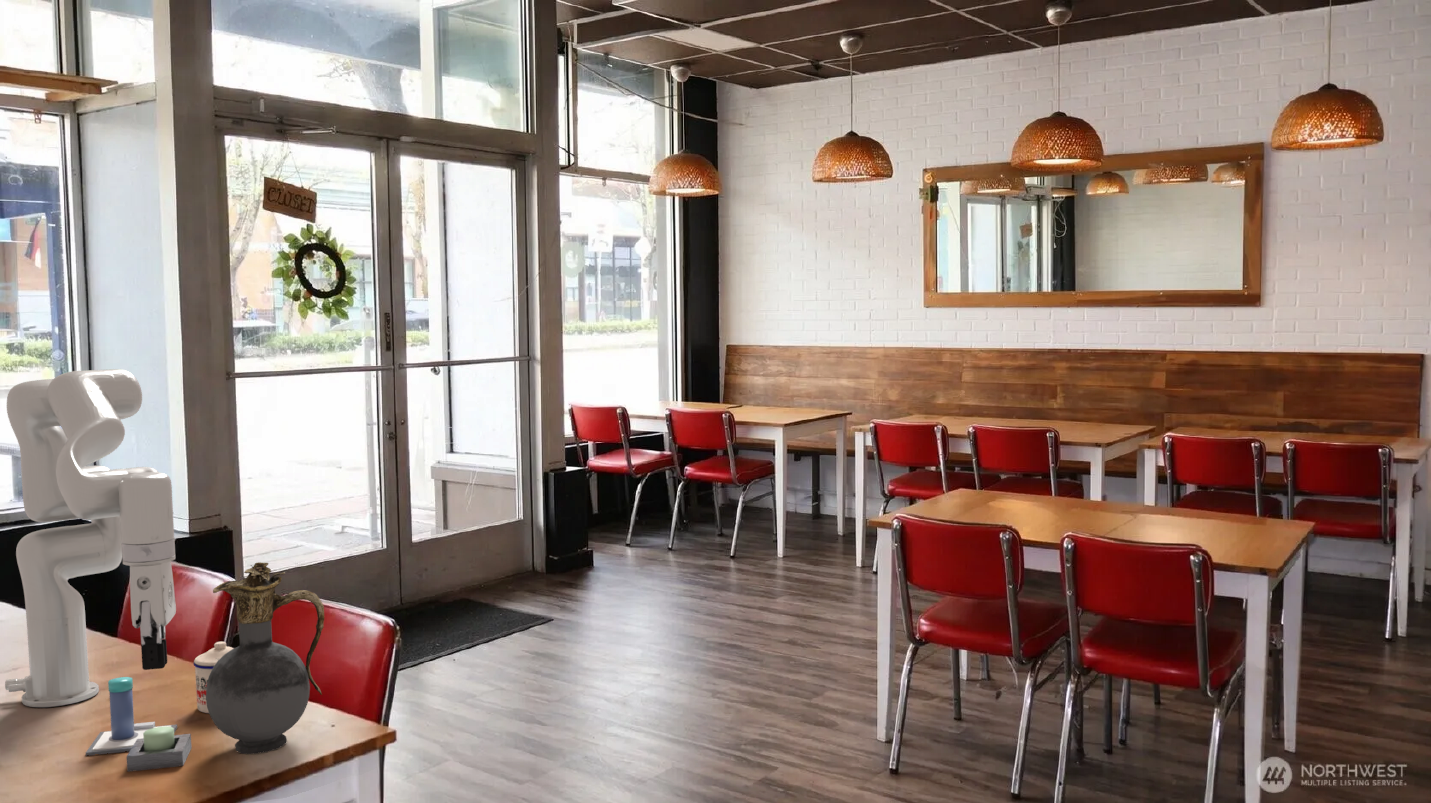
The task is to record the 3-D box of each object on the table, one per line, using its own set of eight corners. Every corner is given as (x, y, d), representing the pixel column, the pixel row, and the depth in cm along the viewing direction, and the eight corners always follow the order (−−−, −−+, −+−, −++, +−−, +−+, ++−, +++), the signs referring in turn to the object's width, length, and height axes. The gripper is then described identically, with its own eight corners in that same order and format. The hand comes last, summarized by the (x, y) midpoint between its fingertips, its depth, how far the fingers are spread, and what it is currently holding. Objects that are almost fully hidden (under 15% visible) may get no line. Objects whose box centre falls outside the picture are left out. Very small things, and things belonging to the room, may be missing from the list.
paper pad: (85, 755, 193) (85, 748, 193) (100, 734, 203) (100, 727, 202) (166, 747, 196) (166, 739, 196) (177, 726, 206) (177, 719, 205)
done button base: (127, 771, 186) (126, 756, 185) (138, 753, 193) (137, 739, 193) (183, 765, 188) (182, 750, 187) (191, 748, 195) (190, 733, 195)
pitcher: (201, 748, 195) (192, 566, 193) (318, 722, 207) (311, 550, 204) (219, 767, 187) (209, 577, 184) (340, 739, 198) (332, 560, 196)
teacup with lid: (185, 708, 215) (182, 644, 214) (232, 694, 223) (229, 633, 222) (222, 721, 208) (219, 655, 207) (269, 706, 215) (266, 643, 214)
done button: (141, 756, 188) (140, 737, 187) (147, 746, 192) (146, 728, 192) (172, 753, 189) (171, 734, 189) (177, 743, 193) (176, 725, 193)
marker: (113, 733, 200) (111, 678, 200) (137, 731, 201) (134, 676, 201) (108, 741, 197) (105, 684, 196) (132, 739, 198) (129, 682, 197)
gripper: (165, 559, 181) (172, 679, 183) (183, 541, 196) (188, 651, 198) (111, 563, 179) (118, 683, 181) (133, 544, 194) (139, 655, 196)
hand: (155, 666), depth 189 cm, fingers closed
